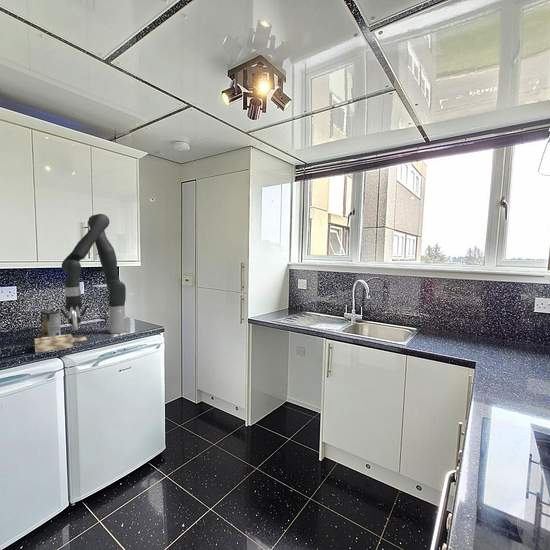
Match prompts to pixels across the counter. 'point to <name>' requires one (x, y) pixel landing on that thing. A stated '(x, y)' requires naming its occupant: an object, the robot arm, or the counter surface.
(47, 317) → the coffee box
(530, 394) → the counter surface
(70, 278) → the robot arm
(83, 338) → the mat
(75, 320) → the peg
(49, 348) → the hole block
